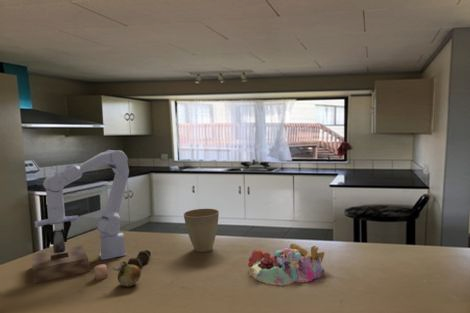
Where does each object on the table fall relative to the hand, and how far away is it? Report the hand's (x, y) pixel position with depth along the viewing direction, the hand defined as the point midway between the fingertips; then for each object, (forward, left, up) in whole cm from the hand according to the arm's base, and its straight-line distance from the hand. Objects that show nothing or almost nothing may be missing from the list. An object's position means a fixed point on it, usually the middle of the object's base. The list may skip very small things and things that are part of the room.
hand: (58, 242), depth 136 cm
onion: (-19, +30, -11) cm, 37 cm away
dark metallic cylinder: (0, 0, -3) cm, 3 cm away
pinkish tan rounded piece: (-12, +18, -10) cm, 24 cm away
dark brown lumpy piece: (-27, +14, -11) cm, 32 cm away
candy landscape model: (-68, +51, -11) cm, 86 cm away
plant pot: (-54, +11, -11) cm, 56 cm away
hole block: (0, 0, -10) cm, 10 cm away
